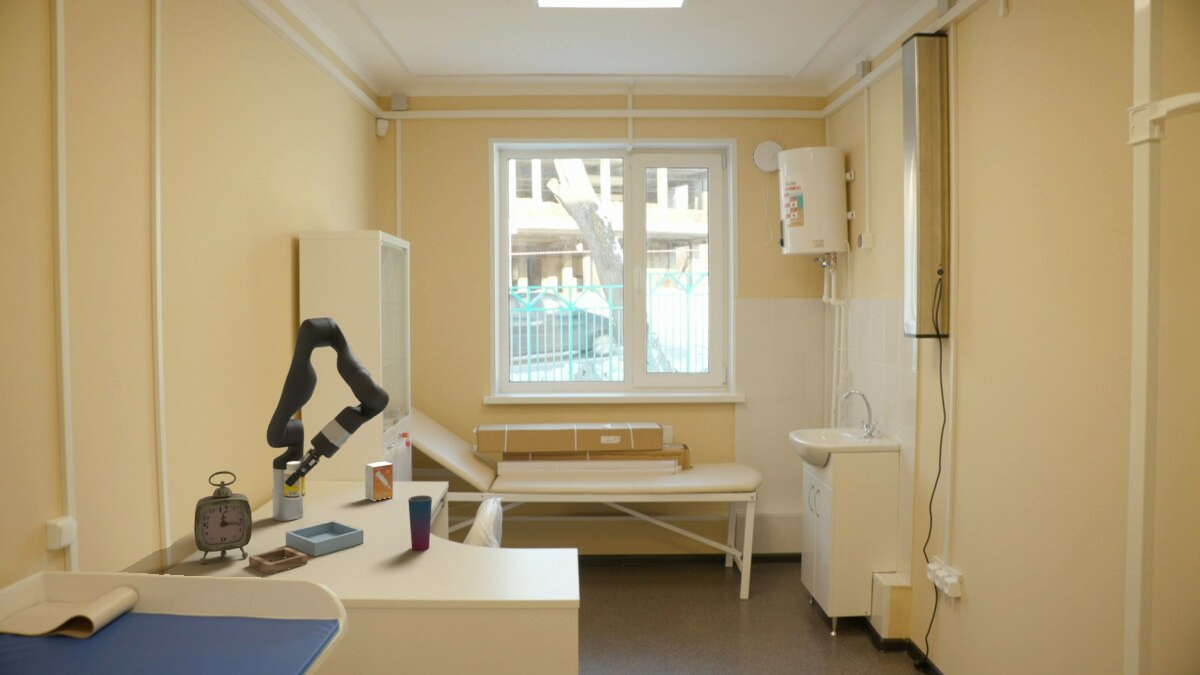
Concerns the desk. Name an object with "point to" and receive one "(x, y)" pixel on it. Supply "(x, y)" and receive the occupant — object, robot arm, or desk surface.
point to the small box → (378, 480)
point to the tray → (324, 538)
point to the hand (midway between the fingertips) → (287, 482)
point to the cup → (420, 521)
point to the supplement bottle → (298, 487)
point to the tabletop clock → (222, 520)
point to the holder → (263, 561)
